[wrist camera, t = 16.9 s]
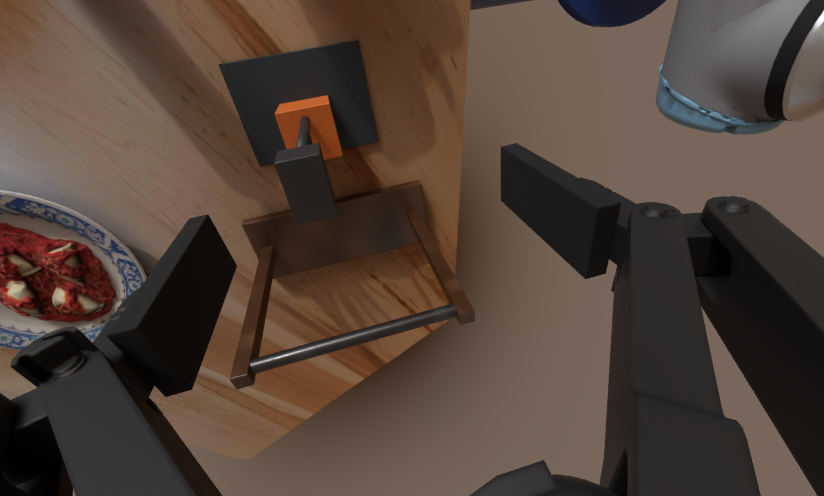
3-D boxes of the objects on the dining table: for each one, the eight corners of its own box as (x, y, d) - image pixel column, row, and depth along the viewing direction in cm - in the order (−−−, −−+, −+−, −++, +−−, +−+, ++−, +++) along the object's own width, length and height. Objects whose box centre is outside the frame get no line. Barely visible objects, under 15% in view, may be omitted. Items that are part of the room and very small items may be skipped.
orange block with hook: (327, 95, 42) (337, 142, 24) (340, 142, 45) (357, 217, 27) (279, 104, 41) (249, 160, 23) (295, 152, 45) (281, 235, 26)
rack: (418, 180, 51) (485, 274, 31) (426, 235, 57) (486, 345, 37) (243, 220, 48) (192, 353, 28) (269, 274, 54) (242, 418, 34)
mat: (358, 40, 40) (358, 40, 40) (377, 141, 47) (378, 141, 46) (219, 64, 38) (218, 64, 38) (260, 165, 45) (259, 166, 45)
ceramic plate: (153, 206, 44) (143, 216, 42) (157, 346, 56) (150, 360, 53) (-145, 157, 35) (-179, 166, 33) (-66, 337, 46) (-88, 354, 44)
